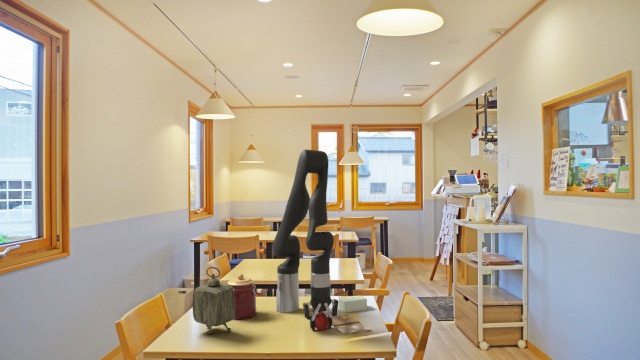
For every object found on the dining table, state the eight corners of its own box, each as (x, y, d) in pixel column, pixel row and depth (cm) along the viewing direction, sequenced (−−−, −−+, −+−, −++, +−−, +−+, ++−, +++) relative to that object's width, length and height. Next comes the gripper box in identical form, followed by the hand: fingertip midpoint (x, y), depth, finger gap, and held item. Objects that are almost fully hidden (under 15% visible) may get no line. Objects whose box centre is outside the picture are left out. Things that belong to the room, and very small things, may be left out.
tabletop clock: (235, 331, 166) (234, 266, 166) (219, 339, 158) (218, 271, 158) (208, 325, 173) (207, 263, 173) (190, 332, 166) (189, 267, 166)
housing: (344, 314, 185) (344, 301, 185) (339, 310, 191) (338, 298, 191) (366, 311, 189) (366, 298, 189) (360, 307, 194) (360, 295, 194)
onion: (320, 328, 169) (319, 307, 169) (332, 331, 165) (331, 310, 165) (310, 332, 164) (310, 311, 164) (322, 335, 161) (322, 313, 161)
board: (345, 338, 158) (345, 334, 158) (322, 320, 178) (322, 316, 178) (372, 333, 162) (372, 330, 162) (347, 316, 182) (347, 313, 182)
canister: (253, 319, 180) (252, 277, 180) (222, 319, 180) (221, 277, 180) (258, 310, 193) (258, 270, 193) (229, 310, 193) (229, 270, 193)
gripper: (334, 280, 171) (334, 323, 171) (299, 284, 166) (300, 328, 166) (341, 284, 164) (342, 329, 164) (306, 288, 159) (306, 334, 159)
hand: (321, 328), depth 165 cm, fingers closed on onion, 6 cm apart
